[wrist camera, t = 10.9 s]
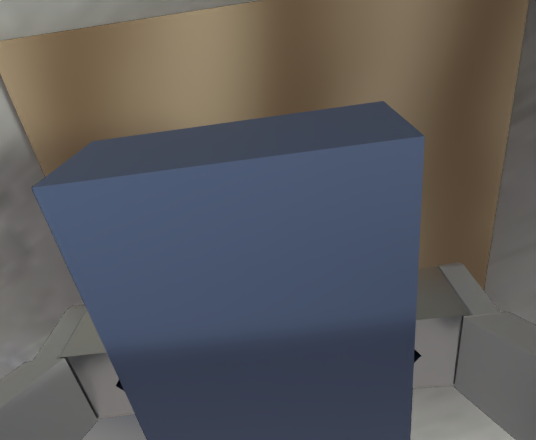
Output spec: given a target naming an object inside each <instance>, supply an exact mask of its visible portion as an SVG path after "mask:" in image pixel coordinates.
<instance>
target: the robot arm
mask: <svg viewBox="0 0 536 440" xmlns="http://www.w3.org/2000/svg"><path fill="white" fill-rule="evenodd" d="M453 385H455V387H454V388H456V389H457V390H458V391H459V392H460V393H461V394H463V395H464V396H465V397H466V398H467V399H469V400H470V401H471V402H472V403H473V404H474V405H476V406H477V407H478V408H479V409H480V410H481V411H483V412H484V413H485V414H486V415H487V416H488V417H490V418H491V419H492V420H493V421H494V422H496V423H497V424H498V425H499V426H500V427H501V428H503V429H504V430H505V431H506V432H507V433H508V434H510V435H511V436H512V437H513V438H514V439H516V440H536V325H535V324H533V323H531V322H528V321H526V320H524V319H522V318H520V317H518V316H516V315H514V314H512V313H510V312H500V311H499V310H498V308H497V307H496V306H495V305H494V303H493V302H492V301H491V299H490V298H489V297H488V296H487V294H486V293H485V292H484V290H483V289H482V288H481V286H480V285H479V284H478V283H477V281H476V280H475V279H474V277H473V276H472V275H471V274H470V272H469V271H468V270H467V268H466V267H465V266H464V265H463V264H461V263H451V264H444V265H437V266H435V267H427V268H418V287H417V308H416V329H415V350H414V371H413V388H423V387H438V386H453ZM133 414H135V413H134V411H133V409H132V406H131V404H130V402H129V400H128V398H127V395H126V393H125V391H124V389H123V387H122V385H121V382H120V380H119V378H118V376H117V374H116V372H115V369H114V367H113V365H112V363H111V361H110V358H109V356H108V354H107V352H106V350H105V348H104V345H103V343H102V341H101V339H100V337H99V334H98V332H97V330H96V328H95V326H94V324H93V321H92V319H91V317H90V315H89V313H88V310H87V308H86V306H85V305H78V306H72V307H70V308H68V309H67V310H66V311H65V313H64V314H63V316H62V317H61V319H60V320H59V322H58V323H57V325H56V326H55V328H54V329H53V331H52V332H51V334H50V335H49V337H48V338H47V340H46V342H45V343H44V345H43V346H42V348H41V349H40V351H39V352H38V354H37V355H36V357H35V358H34V360H33V361H30V362H25V363H23V364H22V365H20V366H19V367H18V368H16V369H15V370H13V371H12V372H10V373H9V374H8V375H6V376H5V377H3V378H2V379H1V380H0V440H82V439H83V437H84V436H85V435H86V434H87V433H88V432H89V431H90V429H91V428H92V427H93V426H94V425H95V424H96V423H97V422H98V420H97V419H100V418H109V417H117V416H125V415H133Z"/></svg>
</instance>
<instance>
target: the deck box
mask: <svg viewBox="0 0 536 440" xmlns="http://www.w3.org/2000/svg"><path fill="white" fill-rule="evenodd" d="M424 142H425V136H424V135H423V134H422V133H421V132H419V131H418V130H417V129H416V128H415V127H414V126H412V125H411V124H410V123H409V122H408V121H406V120H405V119H404V118H403V117H402V116H401V115H399V114H398V113H397V112H396V111H395V110H393V109H392V108H391V107H390V106H389V105H388V104H386V103H385V102H384V101H379V102H372V103H365V104H357V105H350V106H343V107H336V108H329V109H321V110H314V111H307V112H300V113H293V114H285V115H278V116H271V117H264V118H257V119H249V120H242V121H235V122H228V123H221V124H213V125H206V126H199V127H192V128H184V129H177V130H170V131H163V132H156V133H148V134H141V135H134V136H127V137H120V138H112V139H105V140H98V141H92V142H91V143H89V144H88V145H87V146H85V147H84V148H83V149H81V150H80V151H79V152H77V153H76V154H75V155H74V156H72V157H71V158H70V159H68V160H67V161H66V162H64V163H63V164H62V165H60V166H59V167H58V168H57V169H55V170H54V171H53V172H51V173H50V174H49V175H47V176H46V177H45V178H44V179H42V180H41V181H40V182H38V183H37V184H36V185H34V186H33V187H32V191H33V193H34V195H35V197H36V199H37V201H38V204H39V206H40V208H41V210H42V212H43V215H44V217H45V219H46V221H47V223H48V225H49V228H50V230H51V232H52V234H53V236H54V239H55V241H56V243H57V245H58V247H59V249H60V252H61V254H62V256H63V258H64V260H65V263H66V265H67V267H68V269H69V271H70V273H71V276H72V278H73V280H74V282H75V284H76V286H77V289H78V291H79V293H80V295H81V297H82V300H83V302H84V304H85V306H86V308H87V310H88V313H89V315H90V317H91V319H92V321H93V324H94V326H95V328H96V330H97V332H98V334H99V337H100V339H101V341H102V343H103V345H104V348H105V350H106V352H107V354H108V356H109V358H110V361H111V363H112V365H113V367H114V369H115V372H116V374H117V376H118V378H119V380H120V382H121V385H122V387H123V389H124V391H125V393H126V395H127V398H128V400H129V402H130V404H131V406H132V409H133V411H134V413H135V415H136V417H137V419H138V422H139V424H140V426H141V428H142V430H143V433H144V434H145V437H146V439H147V440H410V433H411V412H412V391H413V371H414V350H415V329H416V308H417V287H418V267H419V246H420V225H421V204H422V184H423V163H424Z"/></svg>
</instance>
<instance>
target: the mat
mask: <svg viewBox="0 0 536 440" xmlns="http://www.w3.org/2000/svg"><path fill="white" fill-rule="evenodd" d="M528 5H529V0H261V1H255V2H248V3H242V4H235V5H229V6H222V7H216V8H209V9H203V10H196V11H190V12H184V13H177V14H171V15H164V16H158V17H151V18H145V19H138V20H132V21H125V22H119V23H113V24H106V25H100V26H93V27H87V28H80V29H74V30H67V31H61V32H54V33H48V34H41V35H35V36H29V37H22V38H16V39H9V40H3V41H0V74H1V77H2V79H3V81H4V84H5V86H6V88H7V91H8V93H9V95H10V97H11V100H12V102H13V104H14V107H15V109H16V111H17V114H18V116H19V118H20V120H21V123H22V125H23V127H24V130H25V132H26V134H27V137H28V139H29V141H30V144H31V146H32V148H33V150H34V153H35V155H36V157H37V160H38V162H39V164H40V167H41V169H42V171H43V173H44V176H45V177H46V176H47V175H49V174H50V173H51V172H53V171H54V170H55V169H57V168H58V167H59V166H60V165H62V164H63V163H64V162H66V161H67V160H68V159H70V158H71V157H72V156H74V155H75V154H76V153H77V152H79V151H80V150H81V149H83V148H84V147H85V146H87V145H88V144H89V143H91V142H92V141H98V140H105V139H112V138H120V137H127V136H134V135H141V134H148V133H156V132H163V131H170V130H177V129H184V128H192V127H199V126H206V125H213V124H221V123H228V122H235V121H242V120H249V119H257V118H264V117H271V116H278V115H285V114H293V113H300V112H307V111H314V110H321V109H329V108H336V107H343V106H350V105H357V104H365V103H372V102H379V101H384V102H385V103H386V104H388V105H389V106H390V107H391V108H392V109H393V110H395V111H396V112H397V113H398V114H399V115H401V116H402V117H403V118H404V119H405V120H406V121H408V122H409V123H410V124H411V125H412V126H414V127H415V128H416V129H417V130H418V131H419V132H421V133H422V134H423V135H424V136H425V142H424V163H423V184H422V204H421V225H420V246H419V267H418V268H427V267H435V266H437V265H444V264H451V263H461V264H463V265H464V266H465V267H466V268H467V270H468V271H469V272H470V274H471V275H472V276H473V277H474V279H475V280H476V281H477V283H478V284H479V285H480V286H481V288H482V289H483V290H484V286H485V280H486V273H487V267H488V261H489V254H490V248H491V241H492V235H493V229H494V222H495V216H496V209H497V203H498V197H499V190H500V184H501V177H502V171H503V165H504V158H505V152H506V146H507V139H508V133H509V126H510V120H511V114H512V107H513V101H514V94H515V88H516V82H517V75H518V69H519V62H520V56H521V50H522V43H523V37H524V30H525V24H526V18H527V11H528Z"/></svg>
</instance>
